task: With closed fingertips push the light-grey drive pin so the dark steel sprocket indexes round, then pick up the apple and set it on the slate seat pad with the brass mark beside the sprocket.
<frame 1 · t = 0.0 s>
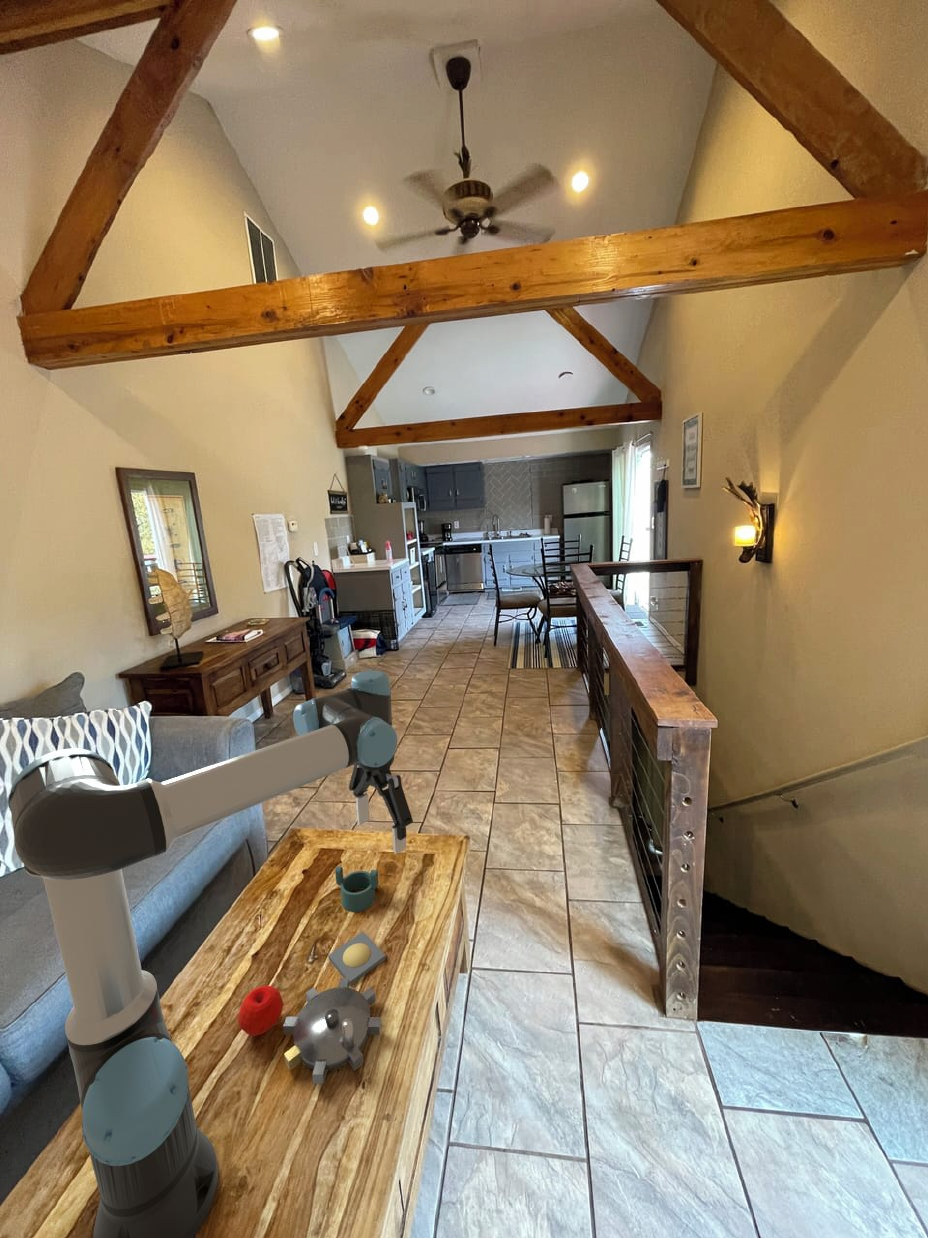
hand: (381, 836, 109), 28 cm above the table, fingers open, 13 cm apart
seat: (357, 959, 111), on the table
bracket: (359, 899, 129), on the table
apple: (263, 1027, 97), on the table
sprocket: (331, 1015, 94), point 5 cm above the table, hinge at 0.0°
hub: (333, 1034, 95), on the table
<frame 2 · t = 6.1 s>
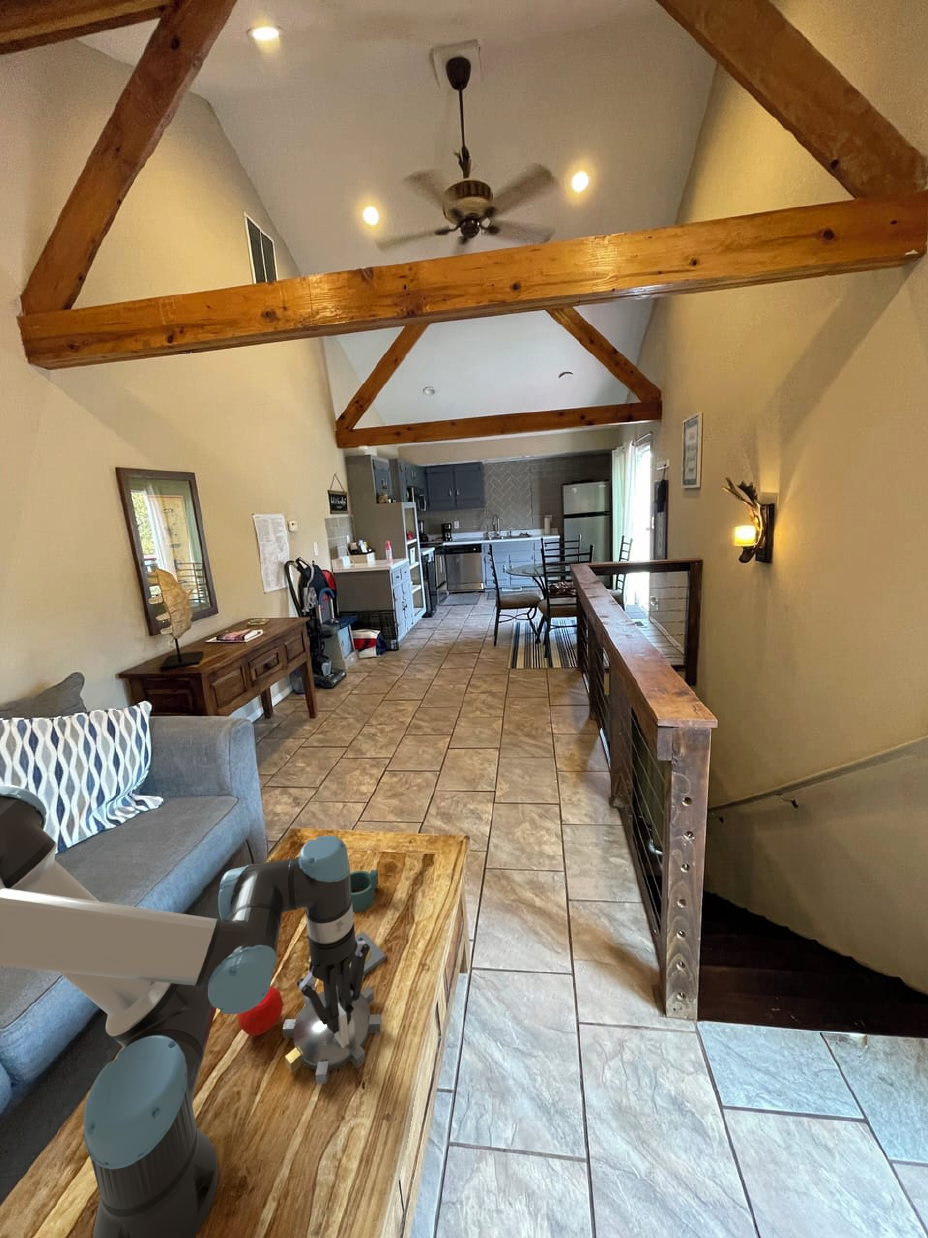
hand: (341, 1040, 89), 5 cm above the table, fingers closed
sprocket: (331, 1015, 94), point 5 cm above the table, hinge at 3.6°, touching gripper
everything else where it was.
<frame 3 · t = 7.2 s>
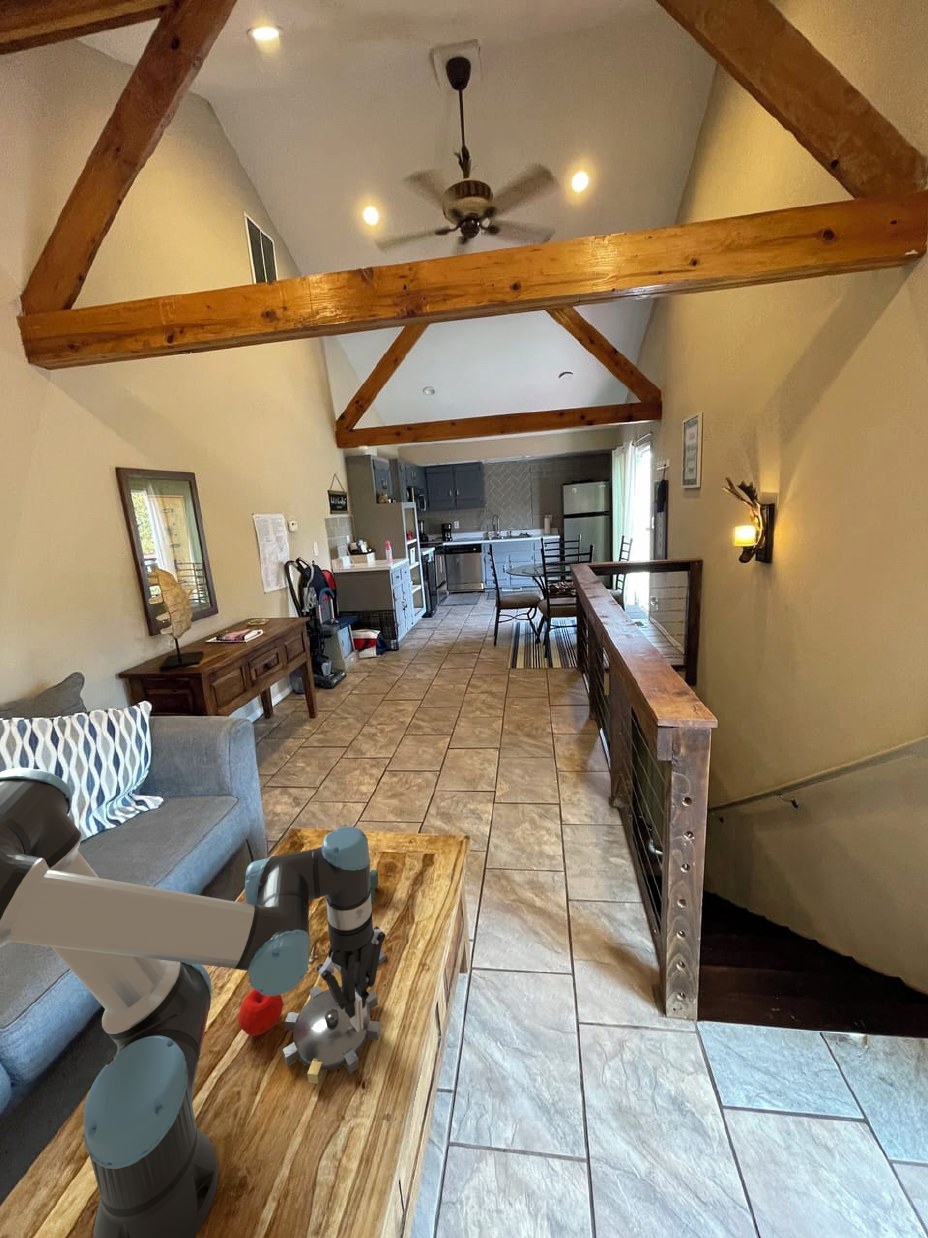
hand: (356, 1025, 92), 5 cm above the table, fingers closed
sprocket: (331, 1015, 94), point 5 cm above the table, hinge at 39.3°, touching gripper
everything else where it was.
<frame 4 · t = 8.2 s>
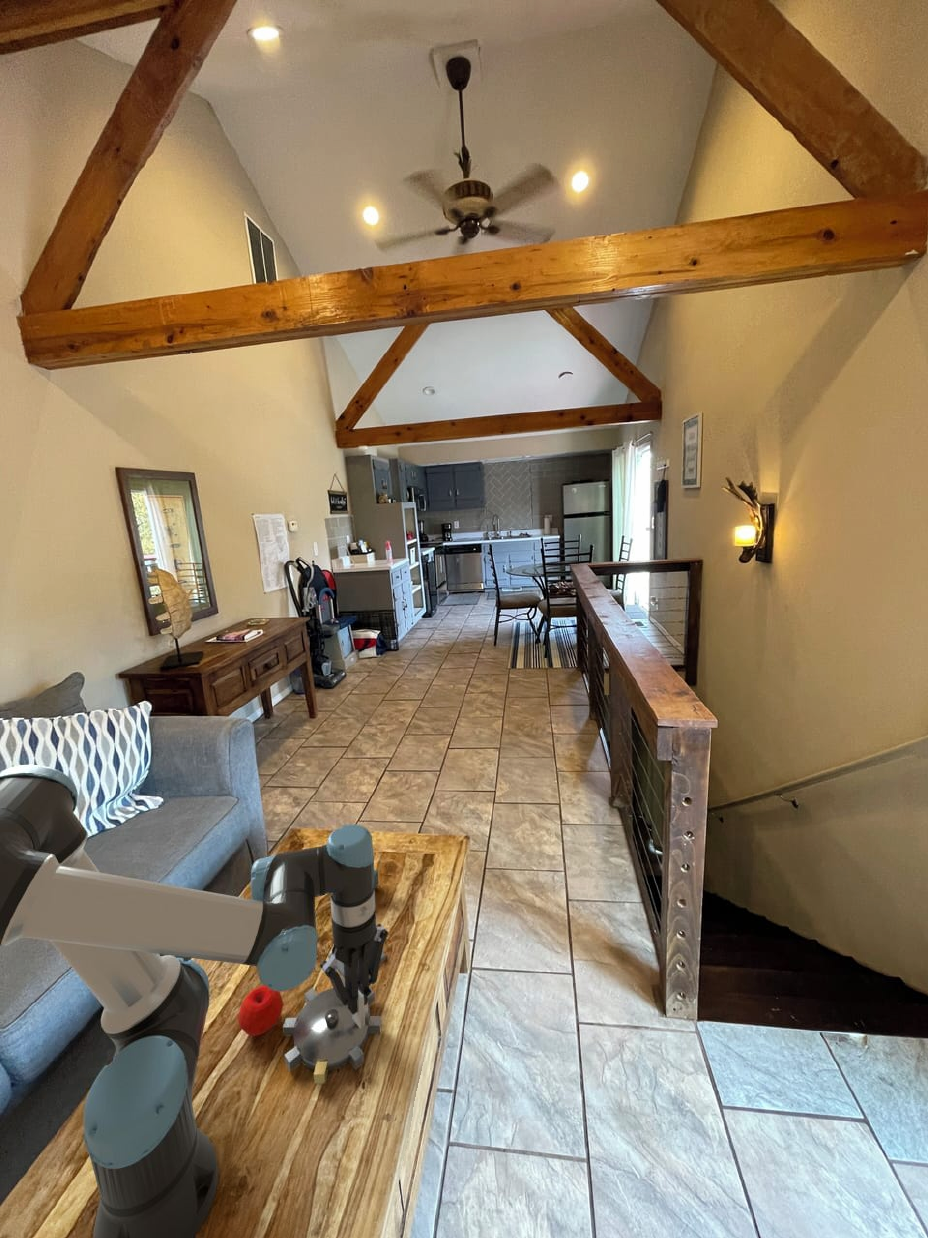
hand: (358, 1021, 93), 5 cm above the table, fingers closed
sprocket: (331, 1015, 94), point 5 cm above the table, hinge at 46.5°, touching gripper
everything else where it was.
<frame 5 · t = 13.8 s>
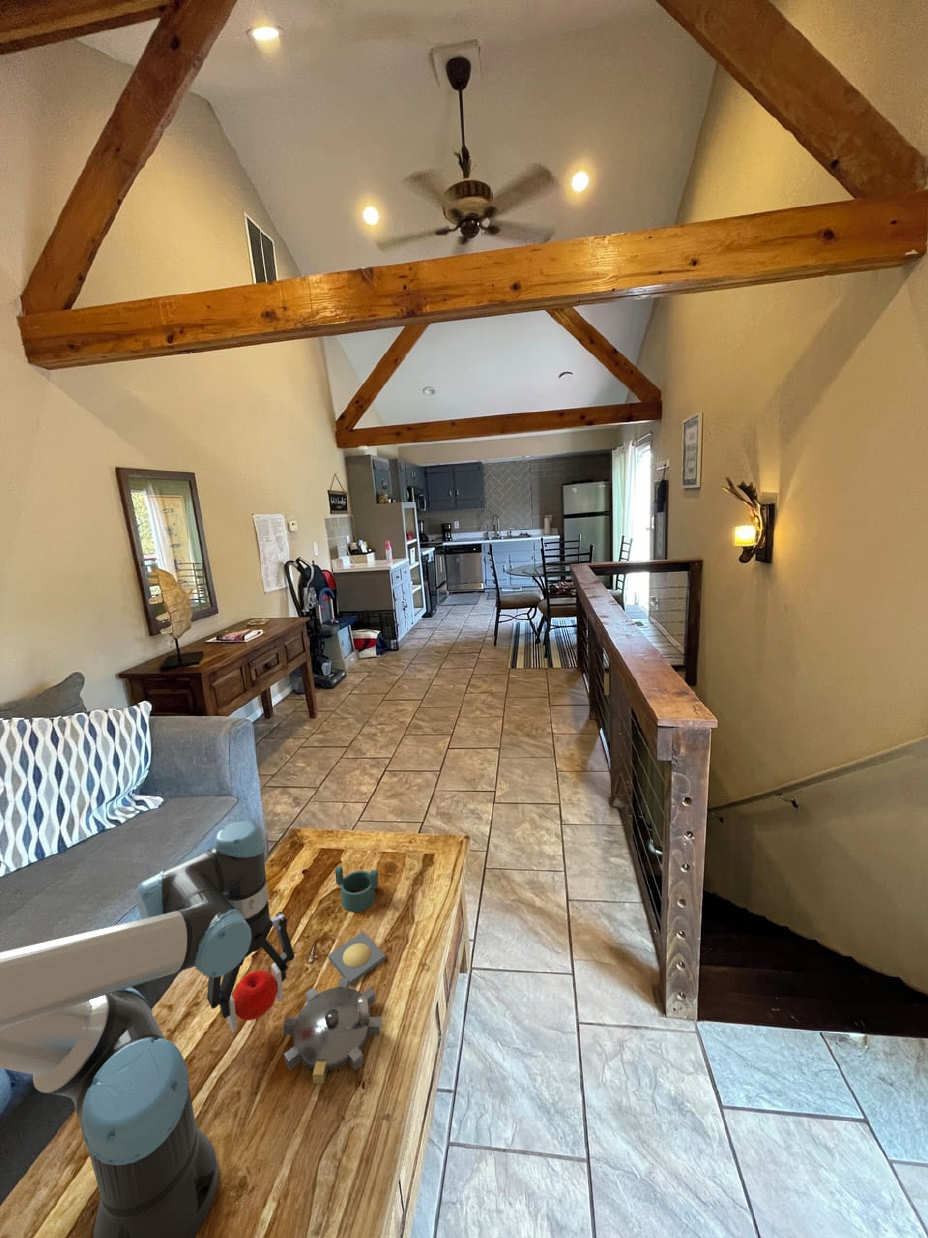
hand: (256, 1010, 96), 5 cm above the table, fingers closed on apple, 8 cm apart
apple: (256, 1013, 96), point 4 cm above the table, touching gripper
sprocket: (331, 1015, 94), point 5 cm above the table, hinge at 45.3°
everything else where it was.
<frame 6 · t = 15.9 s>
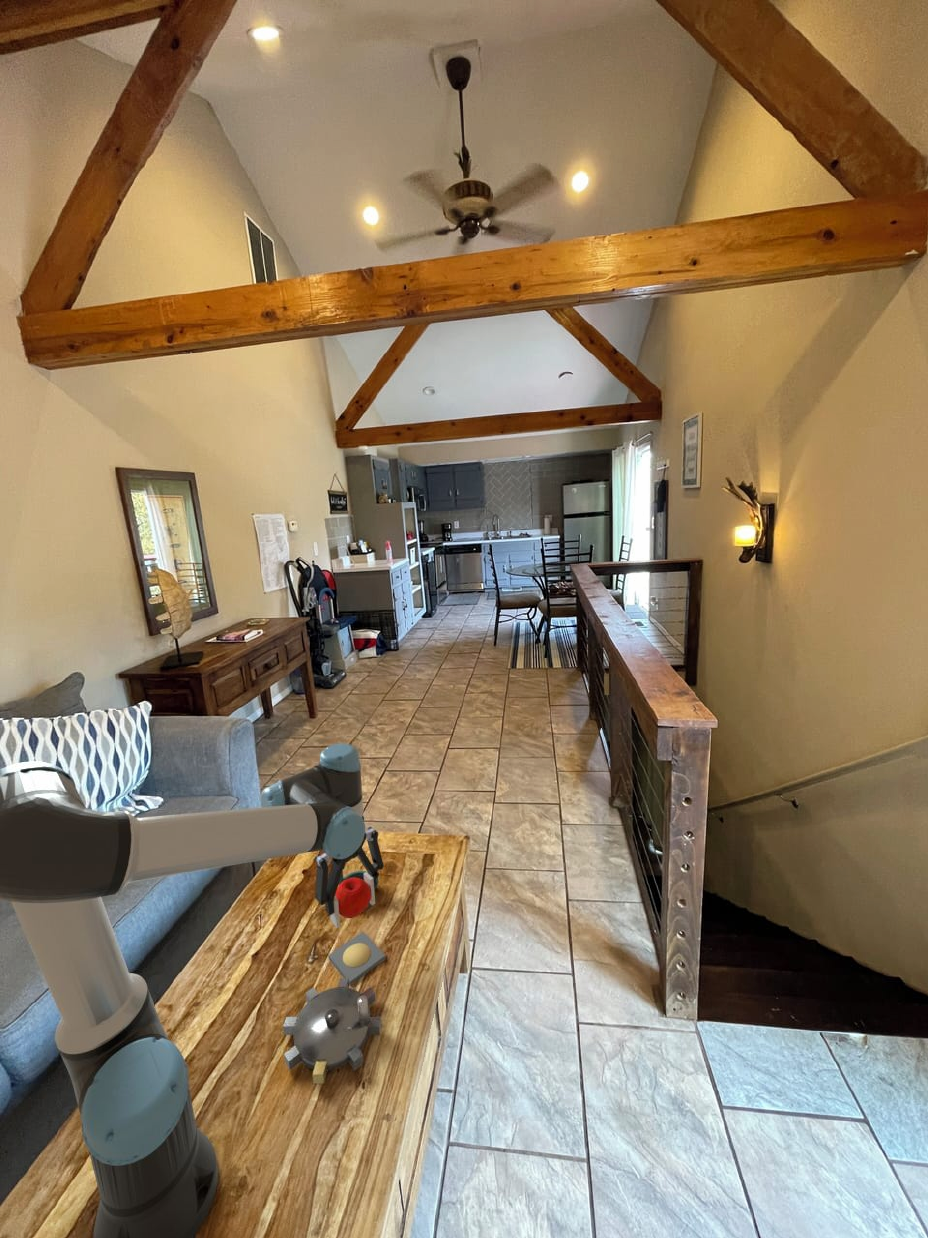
hand: (353, 912, 109), 12 cm above the table, fingers closed on apple, 8 cm apart
apple: (353, 913, 109), point 12 cm above the table, touching gripper
everything else where it was.
when the fingers open (2 cm above the table, at t = 18.0 s): apple stays where it is, resting on seat.
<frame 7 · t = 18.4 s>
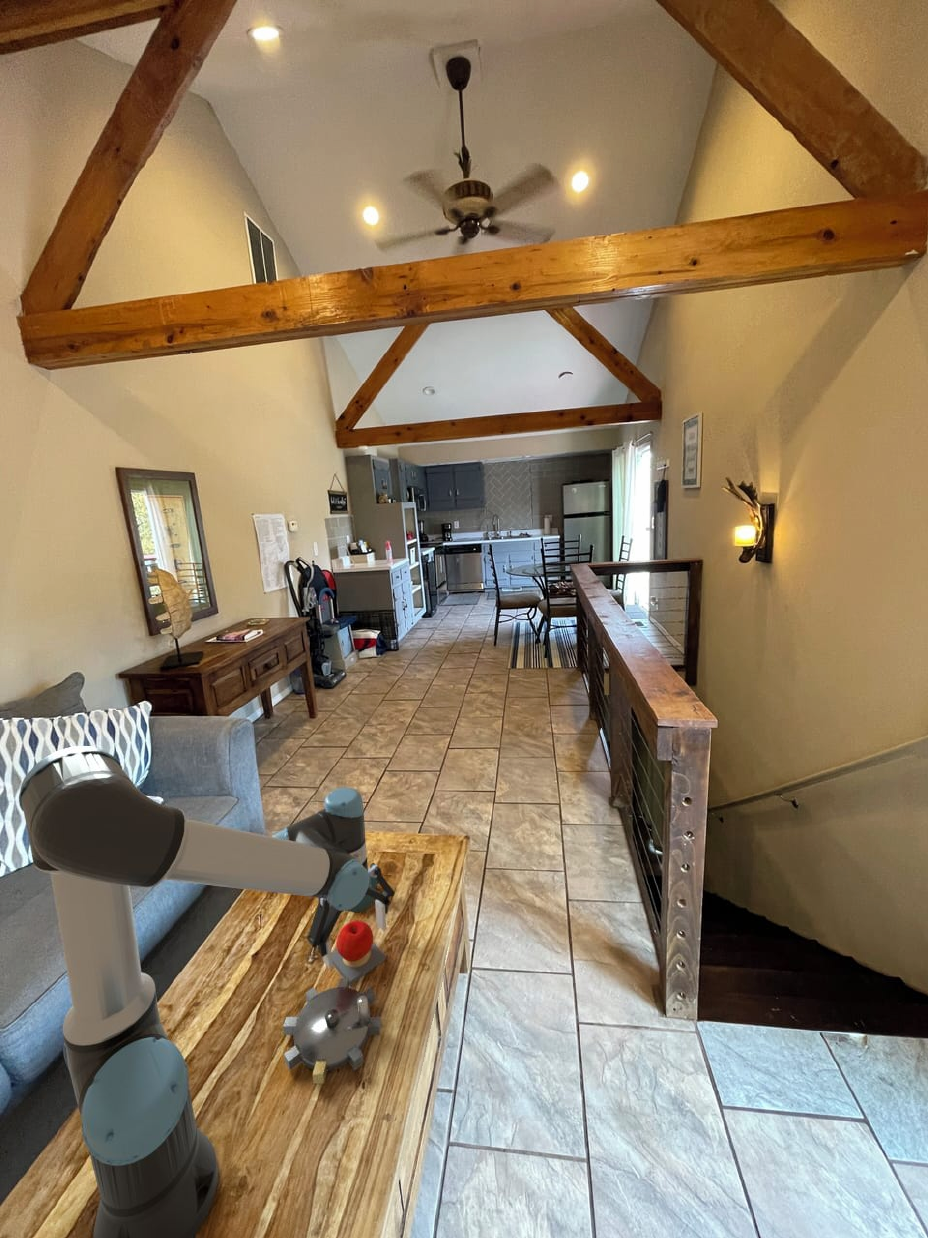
hand: (355, 945, 110), 4 cm above the table, fingers open, 13 cm apart
apple: (356, 956, 111), point 1 cm above the table, touching seat
everything else where it was.
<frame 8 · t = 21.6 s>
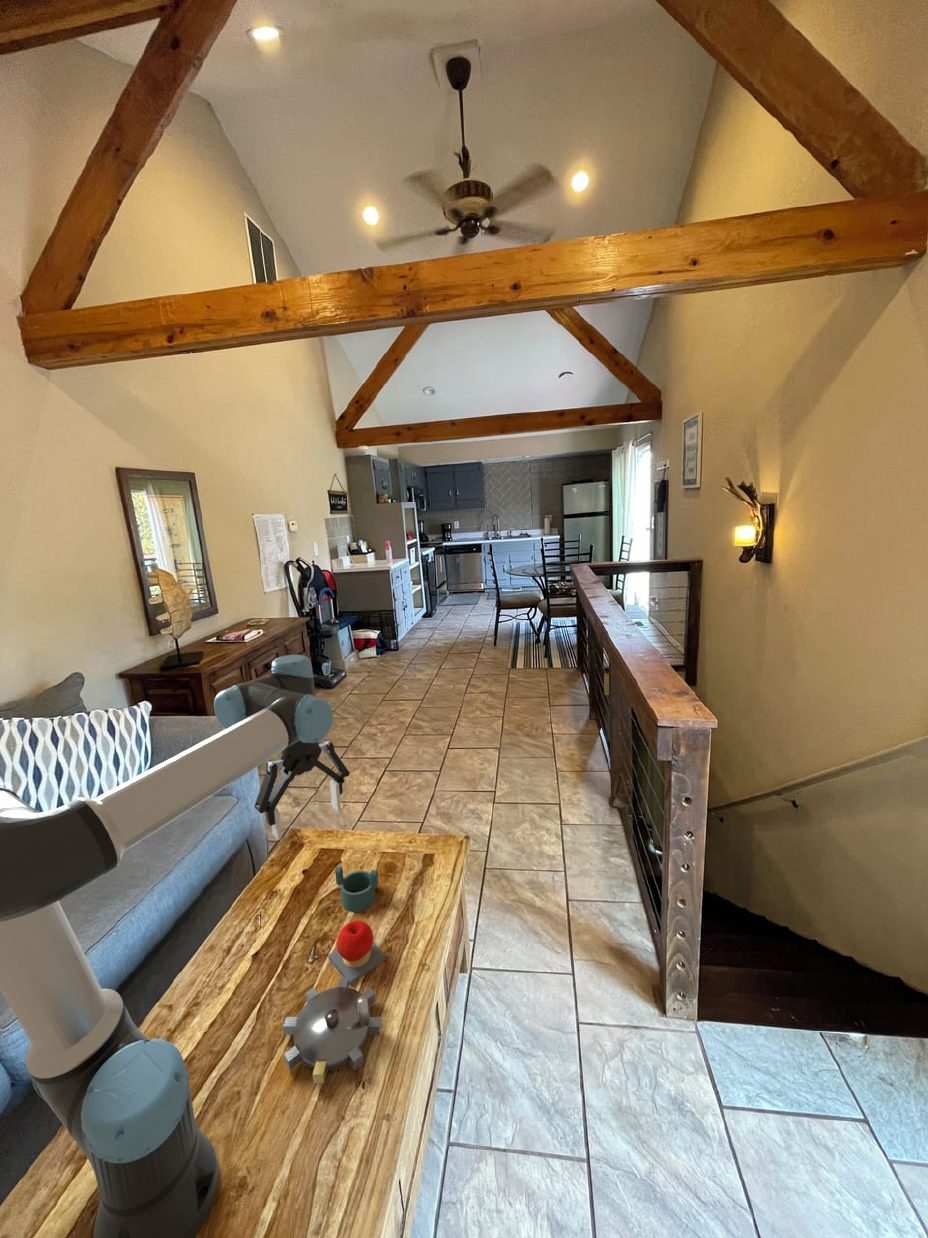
hand: (308, 822, 108), 32 cm above the table, fingers open, 13 cm apart
nothing on the table moved.
at the end: sprocket at +45° (first picture: +0°); apple 0.2 cm from the seat (horizontally); the gripper is holding nothing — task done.
